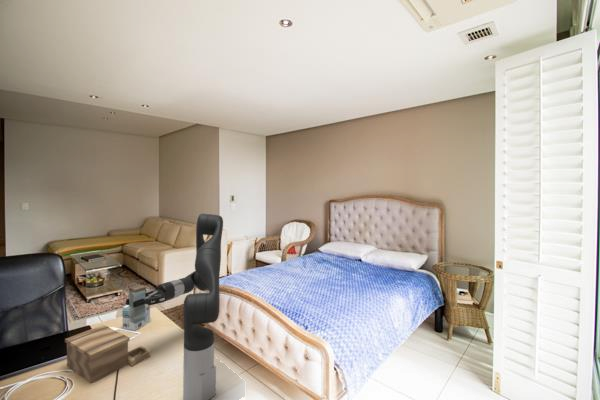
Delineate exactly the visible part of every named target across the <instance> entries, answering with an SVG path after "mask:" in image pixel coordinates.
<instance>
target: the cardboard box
mask: <svg viewBox="0 0 600 400" xmlns="http://www.w3.org/2000/svg"><path fill="white" fill-rule="evenodd" d="M109 327H110V326H107V325H104V324H102V325H99V326H96V327H94V328H90V329H88V330H85V331H83V332H80V333H77V334H75V335H71V336H70V337H67V338H64V343H66V367H67V368H69V369H71V370H72V371H73V372H75V373H76V374H78V375H79V376H80V377H82V378H83V379H84V380H86V381H87V382H89V383H90V384H93V383H95V382H97V381H98V380H101V379H103V378H105V377H106V376H109V375H110V374H112V373H114V372H116V371H119V370H120V369H122V368H123V367H124V368H125V367H126V366H130V367H134V366H135V365H138V364H139V363H142V362H143V361H145V360H147V359H149V358H150V357H151V355H152V351H151V350H149V349H148V348H145V347H143V346H141V345H139V346H137V347H135V348H134V349H131V350H129V342H131V341H130V339H131V338H130V337H129V336H127V335H125V334H124V333H121V332H119V331H115V330H113V329H111V328H109ZM128 341H129V342H128ZM138 354H139V355H138ZM134 356H135V357H134Z"/></svg>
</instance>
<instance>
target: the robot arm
mask: <svg viewBox="0 0 600 400" xmlns="http://www.w3.org/2000/svg"><path fill="white" fill-rule="evenodd" d="M196 219H197V220H196V227H195V228H196V230H195V246H196V248H195V250H196V252H195V253H196V254H195V261H194V270H195V271H192V272H191V273H189V274H188V275H187V276H185V277H182V278H178V279H175V280H170V281H166V282H163V283H159V284H158V285H157V286H156V287H155V289H150V290H148V291H147V289H146V290H145V298H144V300H143V299H140V300H137V301H134V302H133V307H134V308H135V307H138V306H141V305H143V304H144V305H147V304H148V306H150V307H151V306H154V305H158V304H162V303H165V302H167V301H170V300H174V299H176V298H178V297H180V296H183V295H185V294H187V295H186V296H185V298H184V300H183V307H182V309H183V310H182V312H183V315H182V316H183V375H182V377H183V379H182V382H183V384H182V385H183V386H182V387H183V390H182V399H183V400H209V399H210V398H211V397H212V396H213V397H214V396H215V395H216V394H217V392H216V391H217V390H216V389H217V387H216V383H217V366H216V365H214V362H215V333H214V331H213V330H212V329H210V328H208V327H204V326H201V325H203V324H210V323H211V324H212V323H215V322H217V321H218V318H219V315H220V309H221V308H220V305H221V304H220V275H221V274H220V273H221V272H220V271H221V261H222V260H221V259H222V235H223V229H224V218H223V216H221V215H218V214H211V213H210V214H209V213H200V214H199V215H198V217H197V218H196ZM204 236H211V237H210V238H209V239H208V240H206V241H205V239H204ZM195 287H196V288H197V289H198V290H199V291H203V292H198V293H191V292H192V291H193V290H194V289H195ZM207 290H208V292H204V291H207ZM188 293H189V294H188ZM126 305H129V298H126V299H125V306H126ZM213 397H212V398H213ZM212 398H211V399H212ZM211 399H210V400H211Z"/></svg>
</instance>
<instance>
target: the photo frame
mask: <svg viewBox="0 0 600 400" xmlns="http://www.w3.org/2000/svg"><path fill="white" fill-rule="evenodd" d="M108 327H109V328H111V329H113V330H115V331H117V332H119V331H120V332H125V333H128V334H135V335H134V336H133V337H131V338H130V341H128V343H129V342H131V341H133V340H134V339H136V338H138V337H139V336H141V335H142V332H138V331H130V330H124V329H122V328H120V327H119V328H118V327H114V326H108Z"/></svg>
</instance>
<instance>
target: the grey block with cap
mask: <svg viewBox="0 0 600 400" xmlns="http://www.w3.org/2000/svg"><path fill="white" fill-rule="evenodd" d="M145 290H146V291H147V287H146V286H145V285H142V284H137V285H133V286H130V287H129V286H128V299H129V321H130V322H132V323H134V324H135V323H138V322H140V321H143V320H145V305H144V304H143V305H141V306H138V307H135V308H134V307H133V302H134V301H137V300H140V299H143V300H144V298H145Z"/></svg>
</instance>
